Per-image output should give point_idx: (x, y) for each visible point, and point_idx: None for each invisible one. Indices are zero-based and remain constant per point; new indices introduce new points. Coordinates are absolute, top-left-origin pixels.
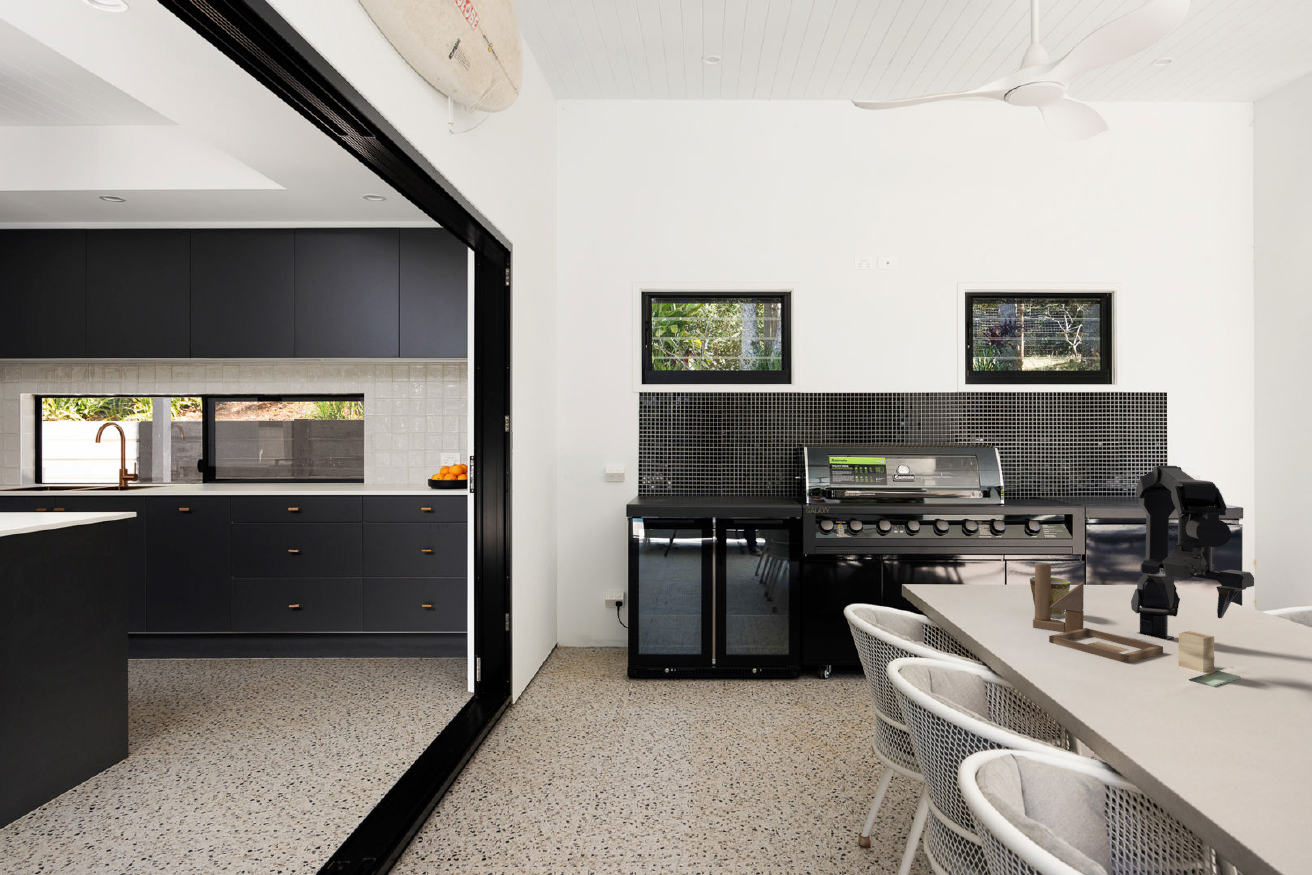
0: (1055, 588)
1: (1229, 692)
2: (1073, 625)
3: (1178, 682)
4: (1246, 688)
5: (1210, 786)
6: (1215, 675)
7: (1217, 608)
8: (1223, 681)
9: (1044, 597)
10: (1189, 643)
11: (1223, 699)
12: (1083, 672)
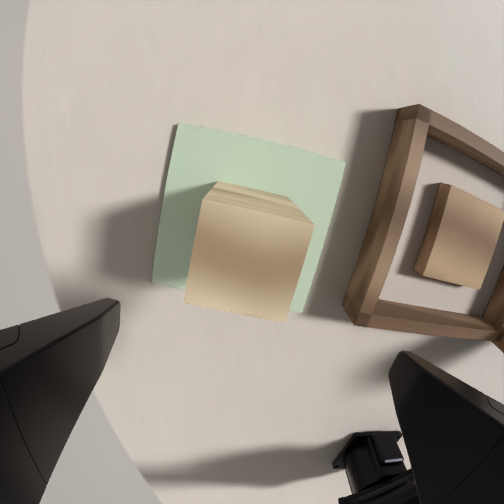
0: None
1: (141, 104)
2: None
3: (264, 86)
4: (119, 186)
5: None
6: None
7: (88, 322)
8: (167, 184)
9: None
10: (263, 205)
11: (145, 30)
12: (446, 21)
